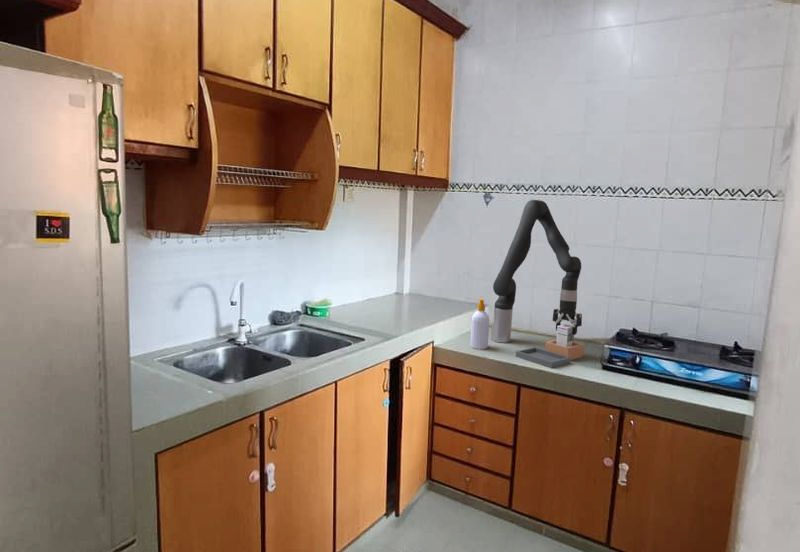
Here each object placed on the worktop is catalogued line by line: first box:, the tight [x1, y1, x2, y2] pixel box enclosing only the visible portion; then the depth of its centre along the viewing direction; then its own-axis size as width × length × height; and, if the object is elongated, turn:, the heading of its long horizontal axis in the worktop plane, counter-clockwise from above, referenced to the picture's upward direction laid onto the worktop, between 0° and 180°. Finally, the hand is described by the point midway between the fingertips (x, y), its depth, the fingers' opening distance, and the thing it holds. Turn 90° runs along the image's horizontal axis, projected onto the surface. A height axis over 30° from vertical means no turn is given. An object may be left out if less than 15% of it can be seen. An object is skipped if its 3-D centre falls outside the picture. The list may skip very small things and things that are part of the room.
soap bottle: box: [469, 297, 490, 350], centre depth 257 cm, size 9×9×24 cm
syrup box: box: [556, 324, 575, 347], centre depth 247 cm, size 6×6×14 cm
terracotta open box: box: [544, 339, 585, 361], centre depth 248 cm, size 12×12×6 cm
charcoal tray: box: [515, 346, 572, 369], centre depth 240 cm, size 20×14×3 cm
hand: (566, 332), depth 247 cm, fingers open, 8 cm apart
